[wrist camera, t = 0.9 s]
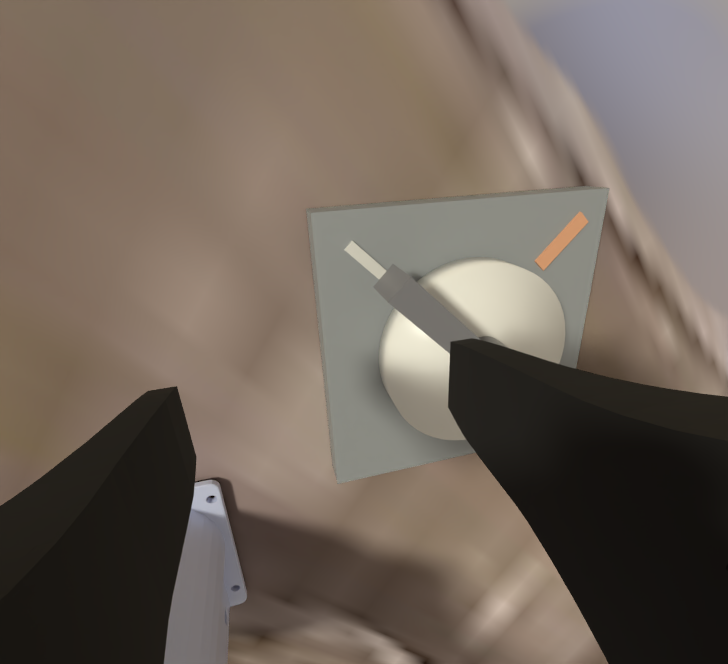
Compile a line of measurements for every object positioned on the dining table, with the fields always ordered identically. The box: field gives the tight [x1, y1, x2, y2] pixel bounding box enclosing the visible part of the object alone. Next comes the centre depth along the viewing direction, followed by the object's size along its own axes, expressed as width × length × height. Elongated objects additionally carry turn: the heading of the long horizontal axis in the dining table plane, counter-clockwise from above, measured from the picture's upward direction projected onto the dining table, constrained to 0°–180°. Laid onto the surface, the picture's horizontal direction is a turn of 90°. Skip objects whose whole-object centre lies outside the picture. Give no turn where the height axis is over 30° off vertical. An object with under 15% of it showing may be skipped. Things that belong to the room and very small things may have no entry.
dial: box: [373, 257, 565, 440], centre depth 18 cm, size 11×9×4 cm
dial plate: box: [306, 186, 609, 484], centre depth 21 cm, size 14×14×2 cm
